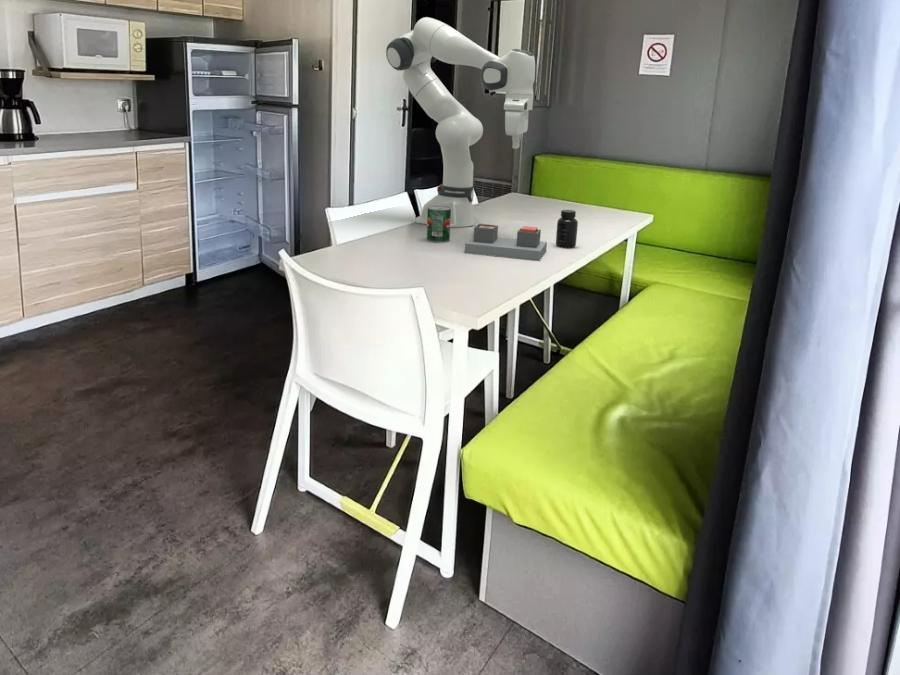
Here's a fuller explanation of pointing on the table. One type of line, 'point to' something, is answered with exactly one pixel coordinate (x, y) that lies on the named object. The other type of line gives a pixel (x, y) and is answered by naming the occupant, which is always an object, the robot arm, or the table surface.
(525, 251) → the button panel
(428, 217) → the canned tomato
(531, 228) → the red button
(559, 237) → the supplement bottle
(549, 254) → the table surface
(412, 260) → the table surface
